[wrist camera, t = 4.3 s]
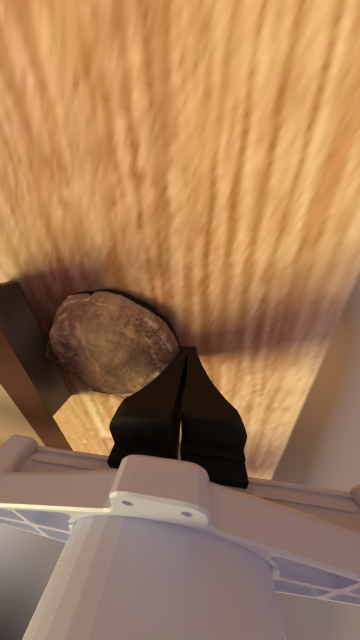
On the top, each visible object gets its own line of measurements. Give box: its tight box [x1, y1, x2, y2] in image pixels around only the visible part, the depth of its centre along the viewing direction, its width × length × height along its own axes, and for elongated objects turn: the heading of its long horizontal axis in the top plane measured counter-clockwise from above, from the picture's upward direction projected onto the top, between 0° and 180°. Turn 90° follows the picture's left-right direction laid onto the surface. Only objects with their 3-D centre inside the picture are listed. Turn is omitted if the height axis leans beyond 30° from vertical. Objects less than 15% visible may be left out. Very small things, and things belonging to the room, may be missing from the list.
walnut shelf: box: [0, 282, 73, 451], centre depth 13 cm, size 14×6×6 cm, turn 1°
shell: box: [46, 289, 180, 398], centre depth 13 cm, size 12×13×4 cm
